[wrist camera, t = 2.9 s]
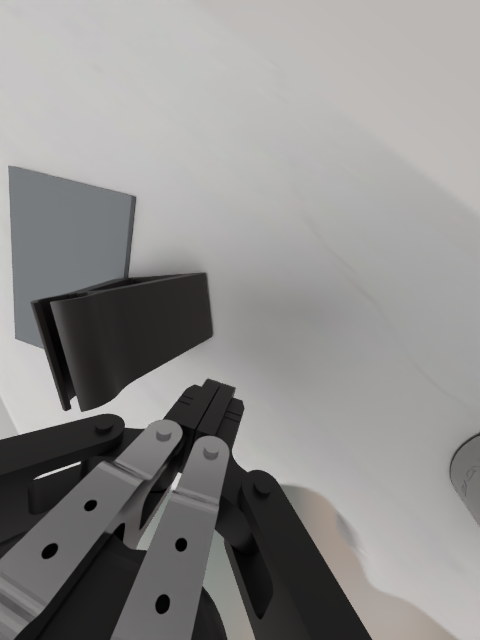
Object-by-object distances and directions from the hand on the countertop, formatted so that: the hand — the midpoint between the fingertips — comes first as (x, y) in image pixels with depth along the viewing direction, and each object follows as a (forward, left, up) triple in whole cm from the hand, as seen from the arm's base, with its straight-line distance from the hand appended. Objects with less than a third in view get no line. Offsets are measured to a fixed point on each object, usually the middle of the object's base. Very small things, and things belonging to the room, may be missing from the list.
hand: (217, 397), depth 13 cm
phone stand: (+9, 0, -11) cm, 14 cm away
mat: (+20, 0, -11) cm, 23 cm away
